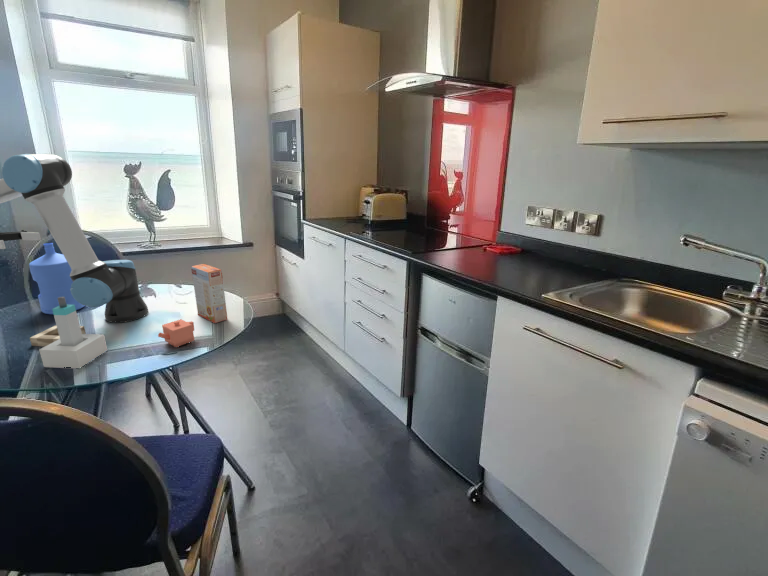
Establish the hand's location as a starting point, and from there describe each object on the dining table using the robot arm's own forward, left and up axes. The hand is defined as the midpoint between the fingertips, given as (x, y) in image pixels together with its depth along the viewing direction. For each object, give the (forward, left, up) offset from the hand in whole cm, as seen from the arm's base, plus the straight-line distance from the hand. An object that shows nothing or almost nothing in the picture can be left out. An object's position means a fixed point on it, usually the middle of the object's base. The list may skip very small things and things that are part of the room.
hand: (22, 240), depth 142 cm
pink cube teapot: (-37, +36, -35) cm, 63 cm away
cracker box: (-53, +18, -35) cm, 66 cm away
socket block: (-8, +29, -35) cm, 46 cm away
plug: (-8, +29, -32) cm, 44 cm away
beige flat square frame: (-3, +8, -35) cm, 36 cm away
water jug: (-4, -29, -35) cm, 46 cm away
